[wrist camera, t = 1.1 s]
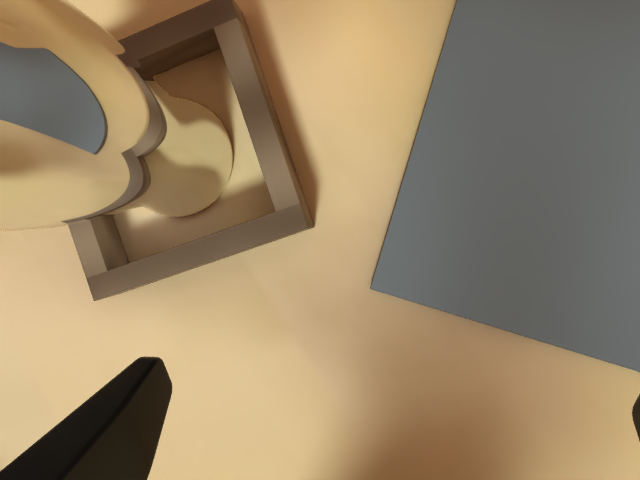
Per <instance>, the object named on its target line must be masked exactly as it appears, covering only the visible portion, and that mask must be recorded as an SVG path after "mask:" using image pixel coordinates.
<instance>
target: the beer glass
mask: <svg viewBox="0 0 640 480" xmlns="http://www.w3.org/2000/svg"><path fill="white" fill-rule="evenodd" d="M232 164H233V152H232V145H231V141H230V138H229V135H228V133H227V131H226V129H225V127H224V125H223V124H222V122H221V121H220V120H219V118H218V117H217V116H216V115H215V114H214V113H213V112H212V111H210V110H209V109H208V108H206V107H204V106H203V105H201V104H199V103H196V102H194V101H191V100H187V99H182V98H176V97H171V96H170V95H168V94H167V93H166V92H165V91H164V90H163V89H162V88H161V86H160V85H159V84H158V83H157V82H156V81H155V80H154V78H153V77H152V76H151V75H150V74H149V73H148V72H147V71H146V70H145V69H144V67H143V66H142V65H141V64H140V63H139V62H138V61H137V60H136V59H135V58H134V57H133V55H132V54H131V53H130V52H129V51H128V50H127V49H125V48H124V47H123V46H122V45H121V44H120V43H119V42H118V41H117V40H116V39H115V38H114V37H113V36H112V35H111V34H110V33H109V32H108V31H106V30H105V29H104V28H103V27H102V26H101V25H100V24H98V23H97V22H96V21H94V20H93V19H92V18H90V17H89V16H88V15H86V14H85V13H84V12H82V11H81V10H80V9H78V8H77V7H76V6H74V5H73V4H72V3H70V2H69V1H68V0H0V231H16V230H30V229H44V228H54V227H60V226H65V225H70V224H76V223H81V222H86V221H91V220H94V219H98V218H102V217H105V216H109V215H113V214H116V213H120V212H123V211H127V210H130V209H134V208H139V207H143V208H145V209H148V210H150V211H152V212H155V213H158V214H161V215H165V216H172V217H182V216H188V215H192V214H195V213H197V212H200V211H202V210H204V209H205V208H207V207H208V206H210V205H211V204H212V203H213V202H215V201H216V200H217V198H218V197H219V196H220V195H221V193H222V192H223V191H224V189H225V187H226V185H227V183H228V181H229V178H230V175H231V171H232Z"/></svg>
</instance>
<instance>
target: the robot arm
mask: <svg viewBox="0 0 640 480" xmlns="http://www.w3.org/2000/svg"><path fill="white" fill-rule="evenodd" d="M171 394H172V383H171V380H170V377H169V375H168V372H167V370H166V367H165V365H164V362H163V361H162V359H160V358H158V357H140V358H138V359H137V360H135V361H134V362H133V363H132V364H131V365H129V366H128V367H127V368H126V369H124V370H123V371H122V372H121V373H120V374H118V375H117V376H116V377H115V378H113V379H112V380H111V381H110V382H109V383H107V384H106V385H105V386H104V387H103V388H101V389H100V390H99V391H98V392H96V393H95V394H94V395H93V396H92V397H90V398H89V399H88V400H87V401H85V402H84V403H83V404H82V405H81V406H79V407H78V408H77V409H76V410H74V411H73V412H72V413H71V414H70V415H68V416H67V417H66V418H65V419H64V420H62V421H61V422H60V423H59V424H57V425H56V426H55V427H54V428H53V429H51V430H50V431H49V432H48V433H46V434H45V435H44V436H43V437H42V438H40V439H39V440H38V441H37V442H36V443H34V444H33V445H32V446H31V447H29V448H28V449H27V450H26V451H25V452H23V453H22V454H21V455H20V456H18V457H17V458H16V459H15V460H14V461H12V462H11V463H10V464H9V465H7V466H6V467H5V468H4V469H3V470H1V471H0V480H147V478H148V475H149V473H150V470H151V467H152V463H153V460H154V457H155V453H156V449H157V446H158V442H159V438H160V435H161V431H162V428H163V424H164V420H165V417H166V413H167V409H168V406H169V402H170V398H171ZM632 416H633V421H634V425H635V428H636V431H637V434H638V437H639V441H640V394H639V396H638V398H637V400H636V402H635V404H634V406H633V411H632Z"/></svg>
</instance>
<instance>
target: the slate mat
mask: <svg viewBox="0 0 640 480" xmlns="http://www.w3.org/2000/svg"><path fill="white" fill-rule="evenodd" d="M370 289H372V290H376V291H379V292H382V293H385V294H389V295H392V296H395V297H398V298H402V299H405V300H408V301H411V302H415V303H418V304H421V305H424V306H428V307H431V308H434V309H437V310H441V311H444V312H447V313H450V314H454V315H457V316H460V317H463V318H466V319H470V320H473V321H476V322H479V323H483V324H486V325H489V326H492V327H496V328H499V329H502V330H505V331H509V332H512V333H515V334H518V335H522V336H525V337H528V338H531V339H535V340H538V341H541V342H544V343H548V344H551V345H554V346H557V347H561V348H564V349H567V350H570V351H573V352H577V353H580V354H583V355H586V356H590V357H593V358H596V359H599V360H603V361H606V362H609V363H612V364H616V365H619V366H622V367H625V368H629V369H632V370H635V371H638V372H640V0H457V2H456V5H455V9H454V12H453V15H452V19H451V22H450V25H449V29H448V32H447V35H446V39H445V42H444V45H443V48H442V52H441V55H440V58H439V62H438V65H437V68H436V72H435V75H434V78H433V82H432V85H431V88H430V92H429V95H428V98H427V102H426V105H425V108H424V112H423V115H422V118H421V122H420V125H419V128H418V131H417V135H416V138H415V141H414V145H413V148H412V151H411V155H410V158H409V161H408V165H407V168H406V171H405V175H404V178H403V181H402V185H401V188H400V191H399V195H398V198H397V201H396V204H395V208H394V211H393V214H392V218H391V221H390V224H389V228H388V231H387V234H386V238H385V241H384V244H383V248H382V251H381V254H380V258H379V261H378V264H377V268H376V271H375V274H374V277H373V281H372V284H371V287H370Z"/></svg>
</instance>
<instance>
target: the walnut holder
mask: <svg viewBox="0 0 640 480" xmlns="http://www.w3.org/2000/svg"><path fill="white" fill-rule="evenodd" d="M118 42H119V43H120V44H121V45H122V46H123V47H124V48H125V49H127V50H128V51H129V52H130V53H131V54H132V55H133V57H134V58H135V59H136V60H137V61H138V62H139V63H140V64H141V65H142V66H143V67H144V69H145V70H146V71H147V72H148V73H149V74H150V75H151V76H154V75H157V74H159V73H161V72H164V71H166V70H169V69H171V68H173V67H176V66H178V65H180V64H183V63H185V62H188V61H190V60H192V59H195V58H197V57H200V56H202V55H204V54H207V53H209V52H212V51H214V50H216V49H219V48H221V51H222V54H223V57H224V60H225V63H226V66H227V69H228V72H229V75H230V78H231V81H232V84H233V87H234V90H235V93H236V96H237V99H238V101H239V104H240V107H241V110H242V113H243V116H244V119H245V122H246V125H247V128H248V131H249V134H250V137H251V140H252V143H253V146H254V149H255V152H256V155H257V158H258V161H259V164H260V167H261V170H262V173H263V176H264V179H265V181H266V184H267V187H268V190H269V193H270V196H271V199H272V202H273V205H274V208H275V211H276V212H273V213H270V214H268V215H265V216H262V217H259V218H256V219H253V220H251V221H248V222H245V223H242V224H239V225H236V226H234V227H231V228H228V229H225V230H222V231H219V232H216V233H214V234H211V235H208V236H205V237H202V238H199V239H197V240H194V241H191V242H188V243H185V244H182V245H180V246H177V247H174V248H171V249H168V250H165V251H163V252H160V253H157V254H154V255H151V256H148V257H146V258H143V259H140V260H137V261H134V262H131V263H129V262H128V259H127V256H126V253H125V250H124V247H123V244H122V241H121V238H120V235H119V232H118V229H117V226H116V224H115V221H114V218H113V215H109V216H105V217H102V218H98V219H94V220H91V221H86V222H81V223H76V224H70V225H68V226H69V229H70V232H71V235H72V237H73V240H74V243H75V246H76V249H77V252H78V255H79V258H80V261H81V264H82V267H83V270H84V273H85V276H86V279H87V282H88V285H89V288H90V291H91V294H92V297H93V299H94V301H97V300H100V299H103V298H107V297H110V296H114V295H117V294H120V293H123V292H126V291H129V290H132V289H135V288H138V287H141V286H144V285H147V284H150V283H152V282H155V281H158V280H161V279H164V278H167V277H170V276H173V275H176V274H179V273H182V272H185V271H188V270H190V269H193V268H196V267H199V266H202V265H205V264H208V263H211V262H214V261H217V260H220V259H223V258H226V257H228V256H231V255H234V254H237V253H240V252H243V251H246V250H249V249H252V248H255V247H258V246H261V245H264V244H266V243H269V242H272V241H275V240H278V239H281V238H284V237H287V236H290V235H293V234H296V233H299V232H302V231H304V230H307V229H310V228H313V227H314V224H313V221H312V218H311V215H310V212H309V209H308V206H307V203H306V200H305V197H304V194H303V191H302V188H301V185H300V182H299V179H298V177H297V174H296V171H295V168H294V165H293V162H292V159H291V156H290V153H289V150H288V147H287V144H286V141H285V138H284V135H283V132H282V129H281V126H280V123H279V120H278V117H277V114H276V111H275V108H274V105H273V102H272V99H271V96H270V94H269V91H268V88H267V85H266V82H265V79H264V76H263V73H262V70H261V67H260V64H259V61H258V58H257V55H256V52H255V49H254V46H253V43H252V40H251V37H250V34H249V31H248V28H247V25H246V22H245V19H244V16H243V13H242V12H241V10H240V9H239V7H238V6H237V4H236V3H235V1H234V0H211V1H209V2H207V3H204V4H202V5H200V6H197V7H195V8H193V9H191V10H188V11H186V12H184V13H181V14H179V15H177V16H175V17H172V18H170V19H168V20H165V21H163V22H161V23H159V24H156V25H154V26H152V27H149V28H147V29H145V30H143V31H140V32H138V33H136V34H133V35H131V36H129V37H126V38H124V39H122V40H120V41H118Z"/></svg>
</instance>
